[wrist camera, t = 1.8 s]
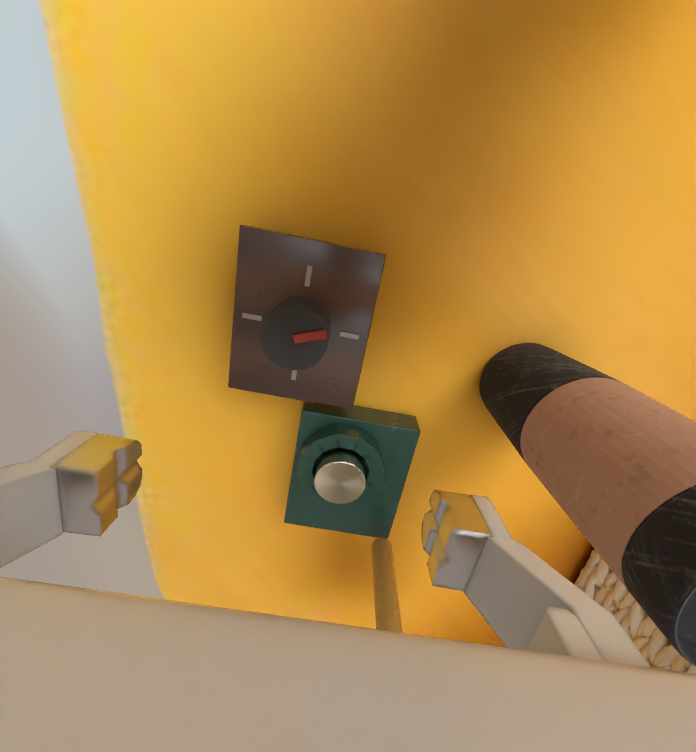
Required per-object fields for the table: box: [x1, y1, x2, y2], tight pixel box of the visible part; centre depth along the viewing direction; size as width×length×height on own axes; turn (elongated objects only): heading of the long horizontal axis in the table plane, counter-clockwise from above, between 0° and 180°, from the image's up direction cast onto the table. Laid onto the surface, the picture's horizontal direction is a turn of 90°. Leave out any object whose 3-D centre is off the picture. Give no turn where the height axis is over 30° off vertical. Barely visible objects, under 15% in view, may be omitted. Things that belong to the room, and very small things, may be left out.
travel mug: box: [480, 343, 696, 666], centre depth 21 cm, size 8×8×20 cm
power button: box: [314, 449, 366, 504], centre depth 28 cm, size 4×4×2 cm
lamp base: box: [284, 401, 420, 539], centre depth 31 cm, size 12×10×4 cm
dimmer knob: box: [259, 296, 331, 370], centre depth 24 cm, size 4×4×4 cm
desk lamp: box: [371, 538, 402, 633], centre depth 23 cm, size 13×10×22 cm
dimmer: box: [228, 225, 386, 409], centre depth 27 cm, size 12×10×3 cm
